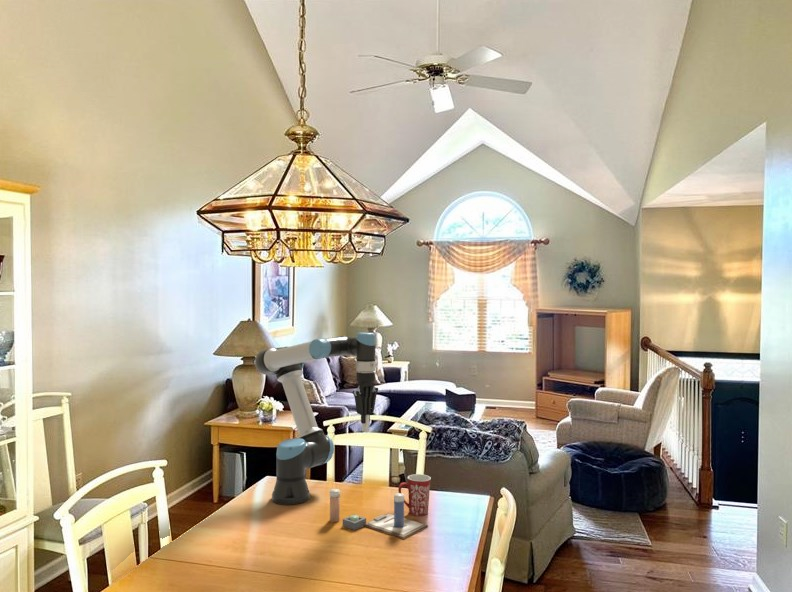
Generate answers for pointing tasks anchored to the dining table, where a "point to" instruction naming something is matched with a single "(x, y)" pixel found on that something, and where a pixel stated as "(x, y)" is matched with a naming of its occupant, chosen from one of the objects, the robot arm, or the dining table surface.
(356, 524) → the button housing
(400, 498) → the blue bottle
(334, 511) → the pale pink bottle
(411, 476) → the mug
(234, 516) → the dining table surface
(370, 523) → the clipboard
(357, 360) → the robot arm
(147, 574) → the dining table surface
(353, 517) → the button
